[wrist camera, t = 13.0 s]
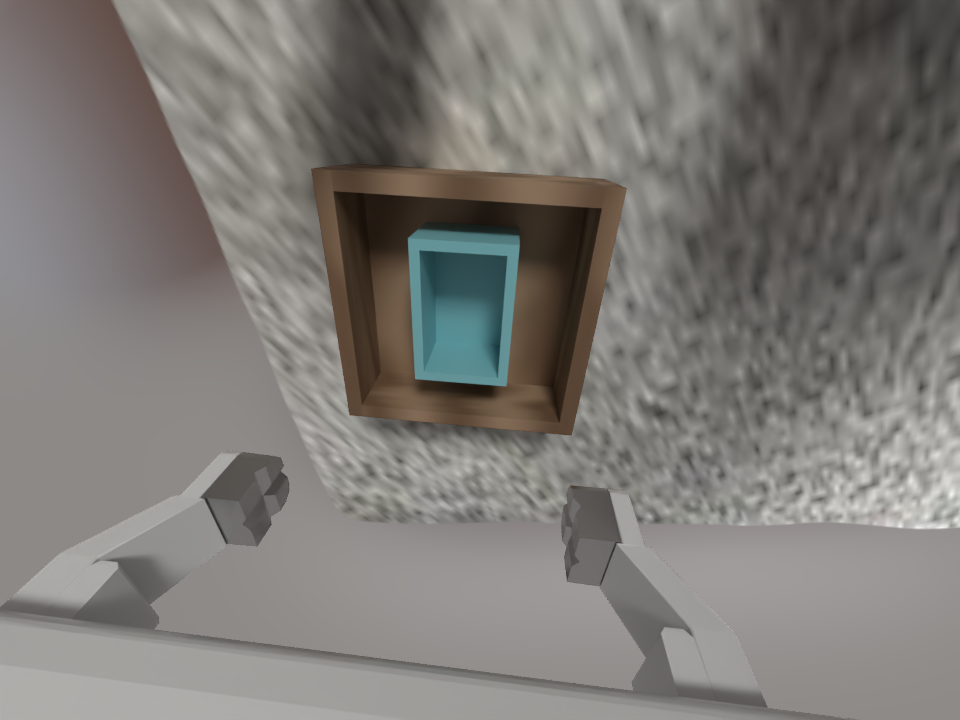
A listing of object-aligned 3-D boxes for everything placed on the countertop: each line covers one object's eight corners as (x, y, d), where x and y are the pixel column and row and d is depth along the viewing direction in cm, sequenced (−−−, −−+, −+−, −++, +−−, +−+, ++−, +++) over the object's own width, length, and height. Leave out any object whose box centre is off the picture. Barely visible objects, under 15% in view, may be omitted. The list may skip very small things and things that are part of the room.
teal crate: (519, 227, 24) (519, 245, 20) (507, 349, 29) (506, 386, 24) (426, 221, 25) (407, 238, 20) (429, 344, 29) (414, 379, 25)
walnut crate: (604, 179, 23) (626, 188, 19) (562, 391, 31) (571, 435, 27) (351, 163, 24) (311, 168, 19) (374, 374, 32) (349, 415, 27)
